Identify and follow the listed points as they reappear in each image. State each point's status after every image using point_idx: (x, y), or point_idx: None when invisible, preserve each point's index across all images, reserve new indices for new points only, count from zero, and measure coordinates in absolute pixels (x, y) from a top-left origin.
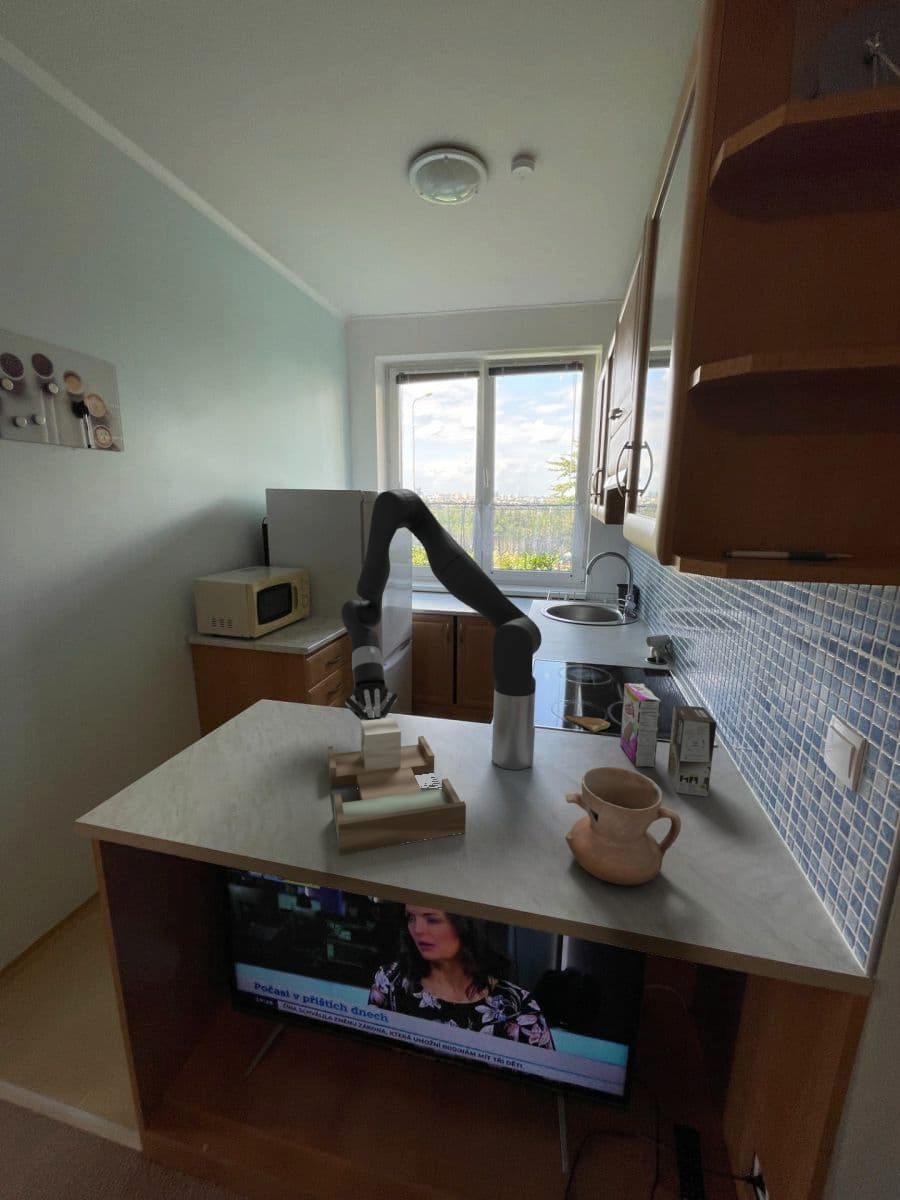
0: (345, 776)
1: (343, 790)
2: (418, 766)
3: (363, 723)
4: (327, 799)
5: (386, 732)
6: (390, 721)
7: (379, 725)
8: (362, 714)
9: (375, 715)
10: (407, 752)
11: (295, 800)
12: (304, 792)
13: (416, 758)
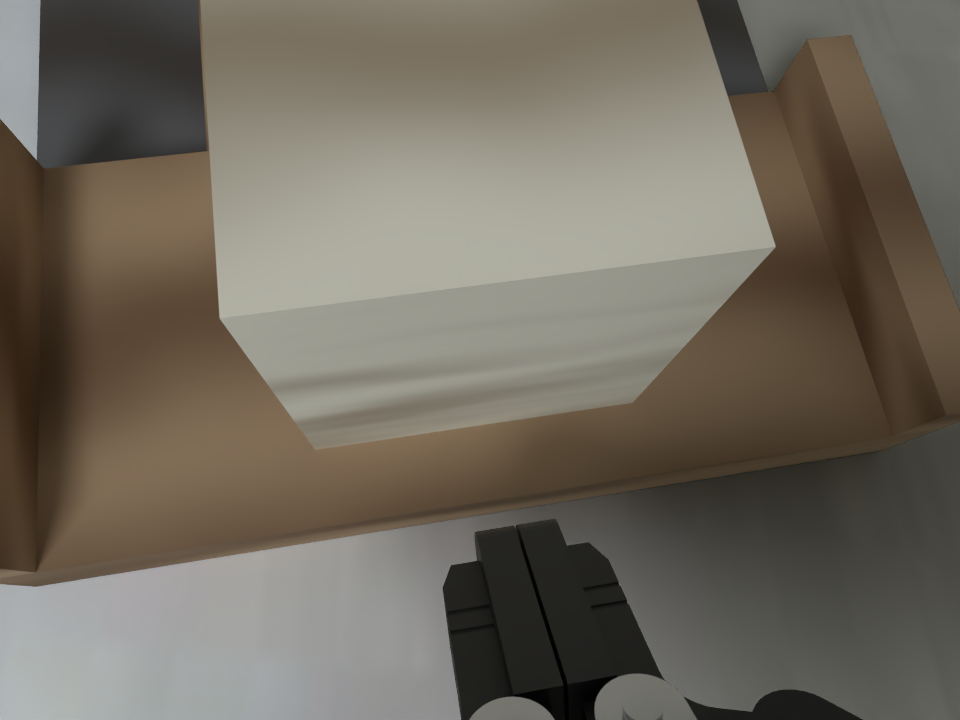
0: None
1: None
2: (139, 158)
3: (720, 157)
4: (767, 40)
5: None
6: (302, 183)
7: (478, 74)
8: (794, 715)
9: (549, 716)
10: (188, 404)
11: (949, 54)
12: (927, 122)
13: (126, 282)
